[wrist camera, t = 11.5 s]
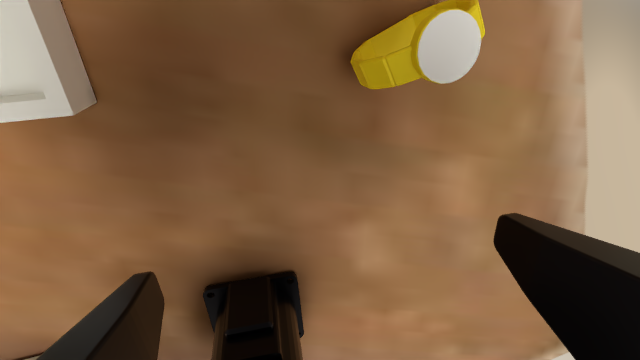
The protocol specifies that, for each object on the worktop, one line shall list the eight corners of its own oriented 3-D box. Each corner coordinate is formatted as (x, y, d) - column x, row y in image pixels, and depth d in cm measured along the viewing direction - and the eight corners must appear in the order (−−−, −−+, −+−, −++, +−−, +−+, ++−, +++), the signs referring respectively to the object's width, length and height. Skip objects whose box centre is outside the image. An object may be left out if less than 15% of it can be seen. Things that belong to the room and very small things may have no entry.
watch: (428, -13, 18) (513, -32, 12) (443, 37, 19) (525, 39, 14) (331, 45, 18) (374, 52, 12) (353, 91, 19) (400, 115, 14)
